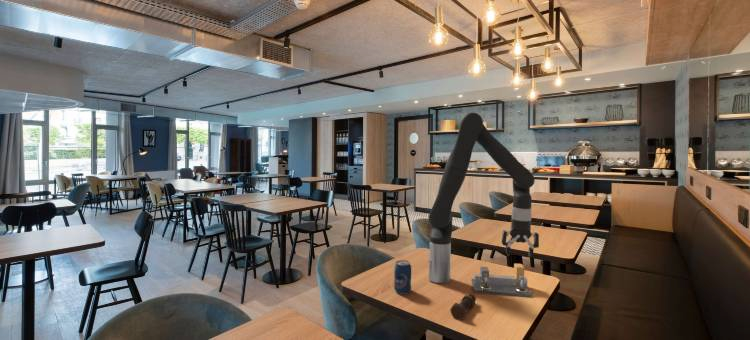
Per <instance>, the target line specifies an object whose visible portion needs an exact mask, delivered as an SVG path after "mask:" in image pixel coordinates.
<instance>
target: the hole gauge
mask: <svg viewBox="0 0 750 340" xmlns="http://www.w3.org/2000/svg"><path fill="white" fill-rule="evenodd" d="M479 269H480V271H479V273H474V278H471V284H472V287H473V291H474V293H475V294H486V295H487V294H489V295H500V296H501V295H502V296H514V297H524V298H525V297H527V298H533V294H532V292H531V291H530V289H529V287H528V279H527V278H528V277H525V276H524V280H523V287H522V288H521V280H519V279H516V278H515V276H514V275H513V276H512V275H499V274H490V270H489V267H488V266H480V268H479Z"/></svg>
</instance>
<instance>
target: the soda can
mask: <svg viewBox="0 0 750 340" xmlns="http://www.w3.org/2000/svg"><path fill="white" fill-rule="evenodd" d="M393 270H394V273H393V274H394V275H393V276H394V277H393V279H394V280H393V281H394V286H393V288H394V290H395V292H396V293H397V294H400V295H407V294H409V293H410V291H411V290H412V265H411V262H410V261H408V260H396V262H395V264H394V269H393Z"/></svg>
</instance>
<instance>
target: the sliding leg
mask: <svg viewBox="0 0 750 340" xmlns="http://www.w3.org/2000/svg"><path fill="white" fill-rule="evenodd" d="M525 270H526V269H525V267H524V265H523V264H522V263H514V264H513V276H515V278H516V279H519V280H521V288H522V287H523V280H524V277H525Z"/></svg>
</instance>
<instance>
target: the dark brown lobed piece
mask: <svg viewBox="0 0 750 340" xmlns="http://www.w3.org/2000/svg"><path fill="white" fill-rule="evenodd" d="M476 300H477V298H476V297H475V295H473V294H465V295H464V296H463V297H462V299H461V302H459V303H458V302H455V303H453V304H452V306H451V308H450V310H449V311H450V314H451V316H452V318H454V319H456V320H458V321H459V320H460V321H463V320H464V318H465V317H466V316H467V315H468V310H469V309H470V310H471V309H472V308H473V307H474V306H475V304H476Z"/></svg>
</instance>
